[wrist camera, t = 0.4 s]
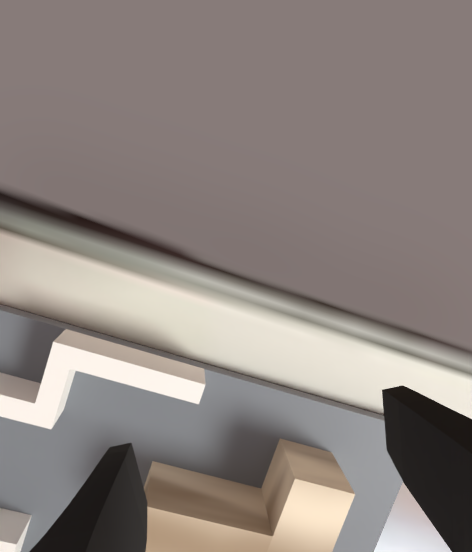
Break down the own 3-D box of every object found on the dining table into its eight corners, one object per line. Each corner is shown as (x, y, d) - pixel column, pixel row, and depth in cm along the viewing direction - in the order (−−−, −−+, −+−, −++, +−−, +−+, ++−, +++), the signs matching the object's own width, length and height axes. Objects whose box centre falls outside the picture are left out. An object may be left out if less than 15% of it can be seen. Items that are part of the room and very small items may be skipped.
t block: (275, 595, 25) (289, 657, 22) (118, 561, 24) (106, 621, 20) (331, 452, 24) (355, 494, 21) (170, 408, 23) (166, 445, 19)
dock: (123, 604, 24) (117, 640, 22) (-131, 553, 22) (-162, 586, 20) (204, 368, 23) (205, 384, 21) (-64, 291, 21) (-91, 301, 19)
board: (329, 634, 27) (333, 647, 26) (-130, 539, 23) (-142, 550, 22) (416, 425, 25) (423, 432, 24) (-65, 285, 21) (-75, 288, 21)
